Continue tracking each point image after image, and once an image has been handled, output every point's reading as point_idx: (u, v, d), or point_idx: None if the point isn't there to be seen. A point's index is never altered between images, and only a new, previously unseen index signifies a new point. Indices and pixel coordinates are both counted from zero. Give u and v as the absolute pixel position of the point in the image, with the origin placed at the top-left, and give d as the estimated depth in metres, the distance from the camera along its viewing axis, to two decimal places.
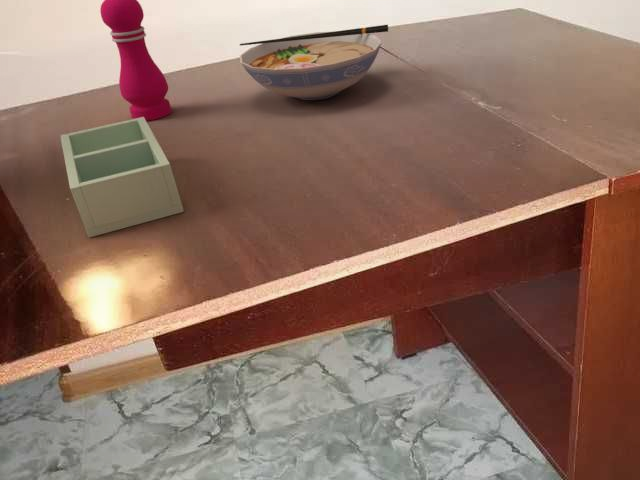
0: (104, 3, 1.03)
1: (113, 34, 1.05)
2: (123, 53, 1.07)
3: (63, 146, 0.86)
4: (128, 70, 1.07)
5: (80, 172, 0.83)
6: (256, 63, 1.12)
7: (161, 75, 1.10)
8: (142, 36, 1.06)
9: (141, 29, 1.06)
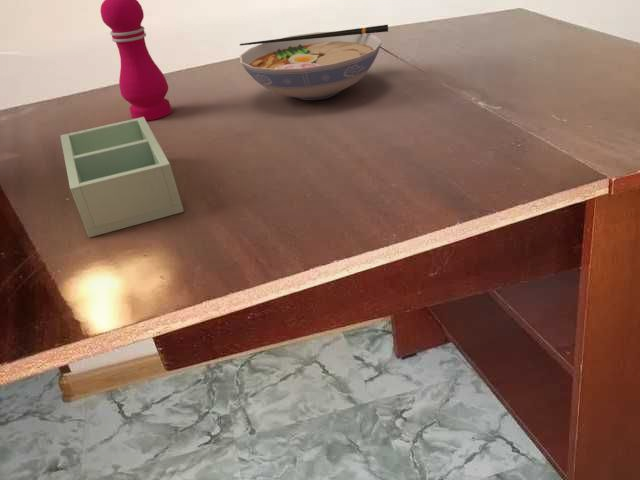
0: (104, 3, 1.03)
1: (113, 34, 1.05)
2: (123, 53, 1.07)
3: (63, 146, 0.86)
4: (128, 70, 1.07)
5: (80, 172, 0.83)
6: (256, 63, 1.12)
7: (161, 75, 1.10)
8: (142, 36, 1.06)
9: (141, 29, 1.06)
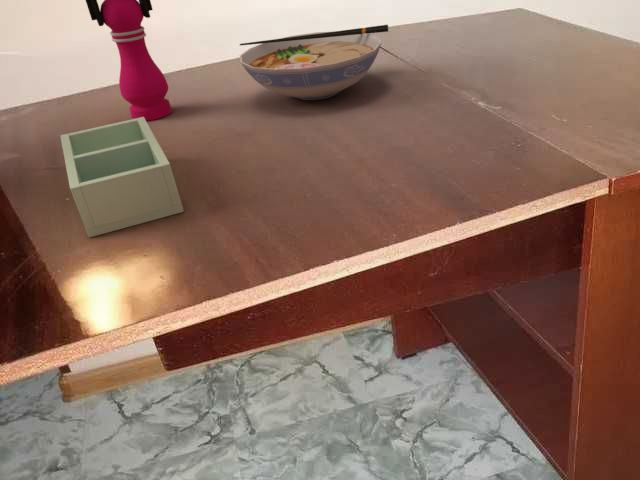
0: (104, 3, 1.03)
1: (113, 34, 1.05)
2: (123, 53, 1.07)
3: (63, 146, 0.86)
4: (128, 70, 1.07)
5: (80, 172, 0.83)
6: (256, 63, 1.12)
7: (161, 75, 1.10)
8: (142, 36, 1.06)
9: (141, 29, 1.06)
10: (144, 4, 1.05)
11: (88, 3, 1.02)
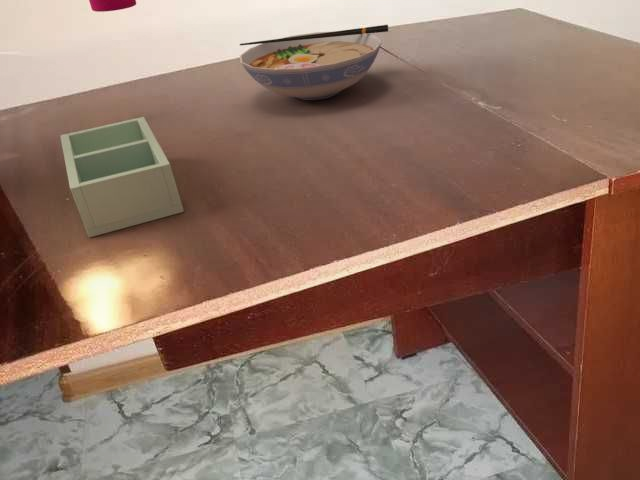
0: None
1: None
2: None
3: (63, 146, 0.86)
4: None
5: (80, 172, 0.83)
6: (256, 63, 1.12)
7: None
8: None
9: None
10: None
11: None
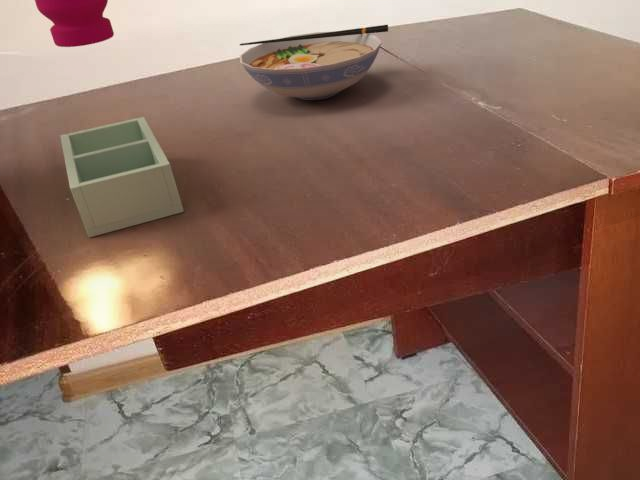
0: None
1: None
2: None
3: (63, 146, 0.86)
4: None
5: (80, 172, 0.83)
6: (256, 63, 1.12)
7: None
8: None
9: None
10: None
11: None
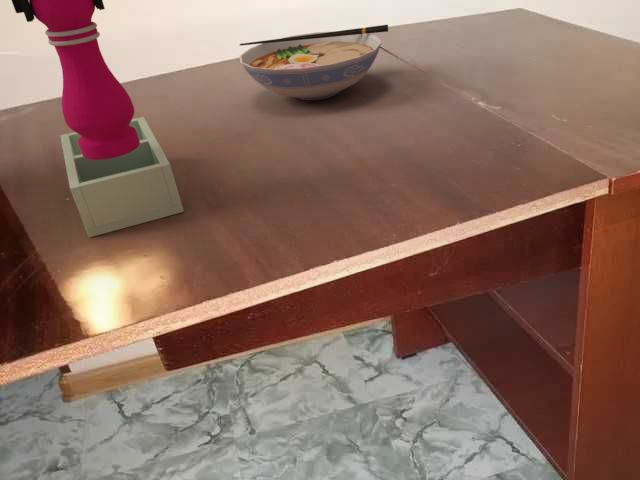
0: None
1: (49, 34, 0.71)
2: (65, 61, 0.72)
3: (63, 146, 0.86)
4: (74, 87, 0.73)
5: (80, 172, 0.83)
6: (256, 63, 1.12)
7: (123, 93, 0.76)
8: (93, 37, 0.72)
9: (91, 26, 0.72)
10: None
11: None
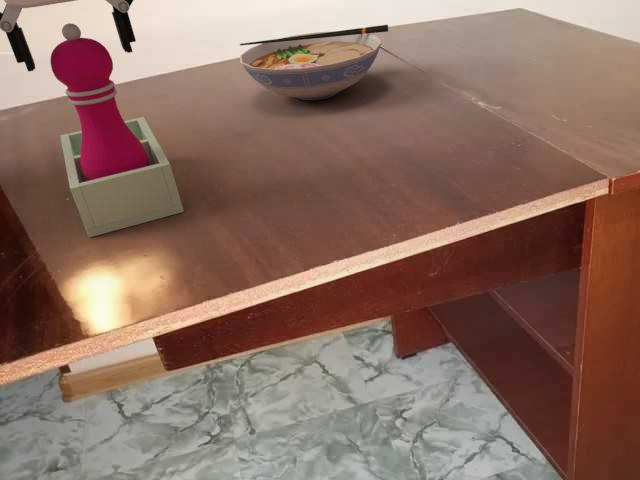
0: (55, 51, 0.72)
1: (69, 94, 0.74)
2: (84, 119, 0.76)
3: (63, 146, 0.86)
4: (92, 143, 0.76)
5: (80, 172, 0.83)
6: (256, 63, 1.12)
7: (139, 147, 0.79)
8: (111, 95, 0.75)
9: (109, 86, 0.75)
10: (123, 34, 0.73)
11: (10, 39, 0.70)
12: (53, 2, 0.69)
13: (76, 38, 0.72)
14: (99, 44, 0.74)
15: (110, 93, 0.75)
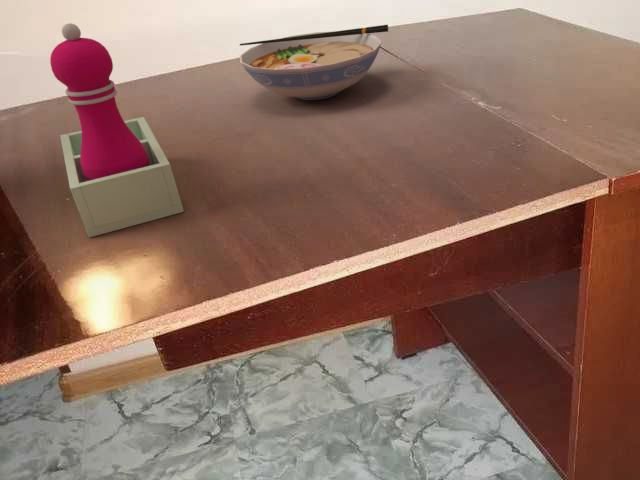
0: (55, 51, 0.72)
1: (69, 94, 0.74)
2: (84, 119, 0.76)
3: (63, 146, 0.86)
4: (92, 143, 0.76)
5: (80, 172, 0.83)
6: (256, 63, 1.12)
7: (139, 147, 0.79)
8: (111, 95, 0.75)
9: (109, 86, 0.75)
10: None
11: None
12: None
13: (76, 38, 0.72)
14: (99, 44, 0.74)
15: (110, 93, 0.75)
